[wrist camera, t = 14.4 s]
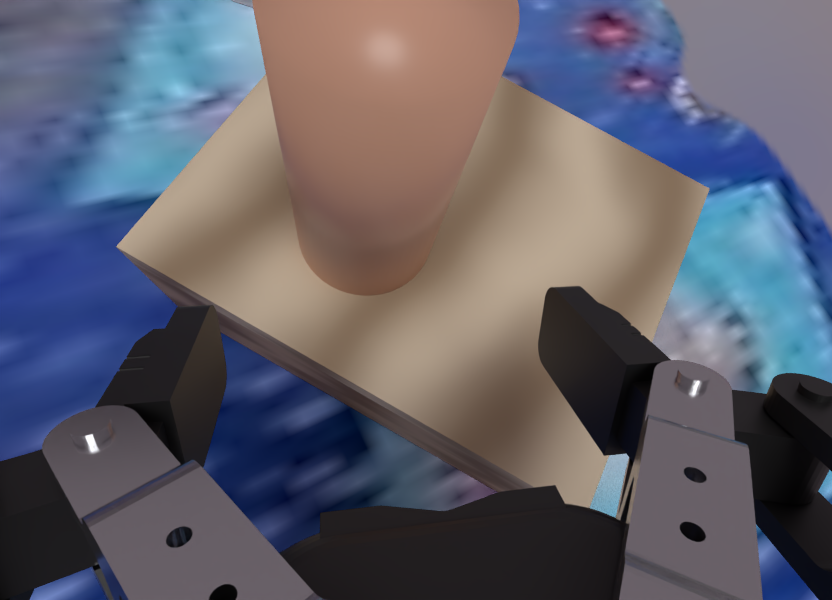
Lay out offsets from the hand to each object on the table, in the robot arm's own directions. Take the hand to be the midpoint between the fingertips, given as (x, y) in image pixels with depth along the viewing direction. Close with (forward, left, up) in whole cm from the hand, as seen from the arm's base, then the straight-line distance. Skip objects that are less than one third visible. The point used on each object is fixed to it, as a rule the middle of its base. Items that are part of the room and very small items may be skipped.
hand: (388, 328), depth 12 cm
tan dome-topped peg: (-3, +5, -7) cm, 9 cm away
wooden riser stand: (-1, +7, -15) cm, 17 cm away
